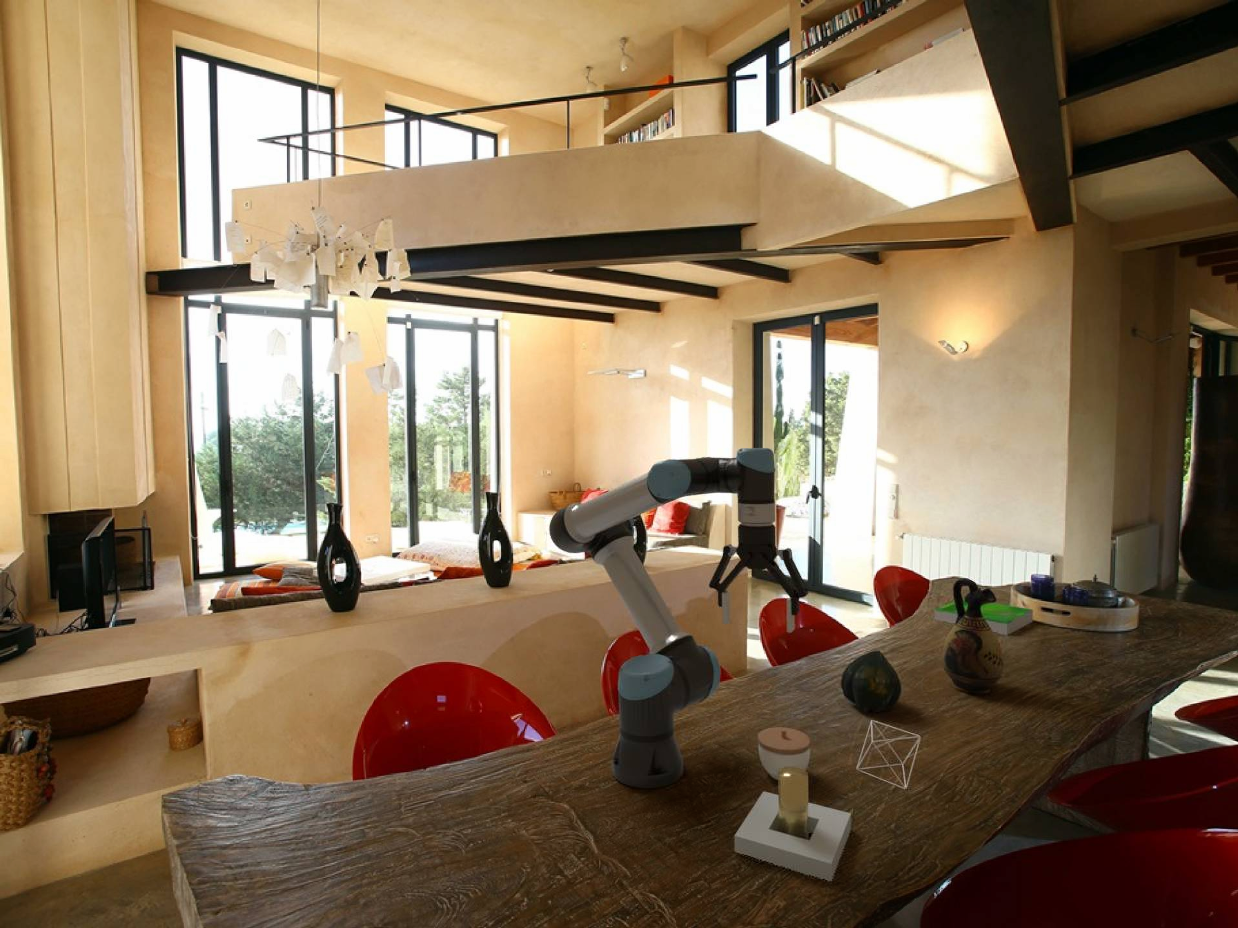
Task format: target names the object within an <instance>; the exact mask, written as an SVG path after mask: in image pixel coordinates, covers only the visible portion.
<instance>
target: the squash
mask: <svg viewBox="0 0 1238 928" xmlns="http://www.w3.org/2000/svg"><path fill="white" fill-rule="evenodd" d="M840 687H841V690H842V695H843V696H844V697H845V698H846V699H847V700H848V701H850V702H851V703H852V704H854V705H856V706H857V708H858V709H859V710H860V711H862V712H865V713H866V712H870V710H872V712H874V713H880V712H882V711H883V710H889V709H891V708H893V707H894V706H895V705H896V704H897V702H898V701H899V700H900V697H901V694H902V684H901V680H900V678H899V675H898V673H897V672H896V670H895V669H894V666H893V665H891V663H890V662H889V661H888V659H887V658H886V657H885V655H884V654H883V653H882V652H881V650H873V651H870V652H867V653H865V654H862V655H860V656H858V657H857V658H855V659H854V660H853V661H851V662H850V663H849V664H848V665H847V666H846V667H845V669H844V670H843V672H842V676H841V680H840Z"/></svg>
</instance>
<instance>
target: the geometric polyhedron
mask: <svg viewBox="0 0 1238 928" xmlns="http://www.w3.org/2000/svg"><path fill="white" fill-rule="evenodd" d="M876 724H880V725H883V726H885V727H889V728H892V729H896V730H899V731H901V732H904V733H908V734H911V735H914V736H907V737H898V738H886V737H885V736H884V734H883V733H882V732H881V730H880V728H879V727H878V726H877V725H876ZM873 725H874V726H875V728H876V729H877V731H878V732H879V733H880V735H881V736H882V738H883V739H880V740H879V739H878V740H874V730H873V729H874V728H873ZM870 729H871V730H870ZM870 731H871V742H870V743H869V746H868V747H867V749H866V751H865V753H864V754H863V752H864V749H865V746H866V742H867V739H868V735H869V732H870ZM907 739H917V740H916V742H915V743H914V744H913V746H912V748H911V749H910V751H909V752H908V754H907V755H906V757H905V759H904V760H903V762H902V760H901V758H900V757H899V756H898V754H897V753H896V751H895V750H894V748H893V747H892V746H891V745H890V743H889V741H897V740H907ZM921 739H922V737H921V736H920V735H919V734H916V733H912V732H910V731H906V730H904V729H901V728H899V727H895V726H891V725H889V724H886V723H883V722H881V721H877V720H873V719H871V720H870V722H869V725H868V729H867V733H866V735H865V739H864V742H863V746H862V749H861V751H860V752H861V753H860V755H859V758H858V761H857V765H856V771H859V772H861V773H864V774H866V775H868V776H870V777H874V778H877V779H878V780H881V781H884V782H886V783H889V784H890V785H894V786H897V787H898V788H901V789H904V790H907V789H908V786H909V782H910V778H911V774H912V773H913V772H912V771H913V768H914V763H915V760H916V757H917V753H918V749H919V746H920V744H921V743H920V742H921ZM877 742H878V743H879V742H886V744H888V747H889V748H890V749H891V750H892V752H893V753H894V754H895V756H896V758H897V759H898V760H899V762H900V763H893V764H889V762H888V760H887V759H886V757H884V755H883V753H882V752H881V750H880V749H879V748H878V746H877V745H876V744H875V743H877ZM872 745H873V746H874V747H875V749H877V751H878V753H879V755H880V756H881V757H882V759H883V760H884V762H886V765H877V766H867V767H861V768H860V766H861V765H862V762H863V761H864V759H865V757H866V756H867V754H868V752H869V750H870V748H871V747H872ZM915 747H916V749H915ZM914 749H915V753H914V757H913V759H912V763H911V767H910V771H909V774H908V778H907V779H906V773H905V765H904V764H905V763H906V761H907V760H908V758H909V756H910V755H911V754H912V752H913V750H914ZM862 755H863V756H862ZM894 766H902V773H903V782H904V783H903V782H902V780H901V779H900V777H899V776H898V775H897V773H896V771H895V770H894V769H893V767H894ZM885 767H889V768H890V770H891V771H892V772H893V774H894V775H895V777H896V778H897V780H898V781H899V783H900V784H901V785H902V786H900V785H898V784H895V783H893V782H891V781H888V780H885V779H883V778H882V777H879V776H875V775H873V774H872V773H868V772H866V771H863V770H866V769H867V770H868V769H874V768H885Z"/></svg>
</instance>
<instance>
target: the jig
mask: <svg viewBox="0 0 1238 928" xmlns="http://www.w3.org/2000/svg"><path fill="white" fill-rule="evenodd" d="M778 828H779V794H775V793H773V792H767V791H763V792H762V793H761V794H760V795H759V798H758V799H757V800H756V801H755V804H754V805H753V807H752V808H751V810H750V811H749V813H748V814H747V816H746V818H745V819H744V820H743V822H742V823H741V825H740V826H739V828H738V829H737V831H736V833H735V834H734V853H735V852H737V853H740V854H744V855H748V856H751V857H754V858H757V859H759V860H758V861H760V859H761V860H762V861H761V862H763V861H767V862H769V863H768V864H770V863H773V864H774V866H776V865H778V866H777V867H780V866H783V867H785V868H784V869H786V868H789V869H791V870H790V871H793V870H794V871H793V872H796V871H797V873H799V872H800V873H799V874H802V873H803V875H806V876H809V875H811V876H810V877H812V876H814V877H813V878H815V877H818V878H817V879H819V878H820V880H822V879H825V880H828V881H827V882H829V881H832V882H833V880H832V879H834V877H835V874H836V871H837V869H836V868H838V866H839V863H840V861H839V859H840V860H841V858H840V857H842V855H843V853H842V852H844V850H843V849H845V847H846V845H845V844H847V842H846V841H848V839H849V836H850V834H851V831H850V830H852V813H850V812H847V811H843V810H840V809H835V808H832V807H828V806H827V807H826V806H823V805H820V804H815V803H811V802H808V832H811V833H813V834H811V836H810V839H808V840H806V839H802V838H799V837H795V836H791V835H788V834H784V833H781V832H779V829H778ZM849 833H850V834H849ZM847 838H848V839H847ZM844 846H845V847H844ZM737 853H736V854H737ZM740 854H739V855H740ZM841 854H842V855H841ZM744 855H743V856H744ZM757 859H756V860H757ZM838 862H839V863H838ZM773 864H772V865H773ZM837 865H838V866H837ZM783 867H782V868H783ZM789 869H788V870H789ZM835 870H836V871H835ZM834 873H835V874H834ZM833 876H834V877H833ZM825 880H824V881H825Z"/></svg>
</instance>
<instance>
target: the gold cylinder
mask: <svg viewBox="0 0 1238 928" xmlns="http://www.w3.org/2000/svg"><path fill="white" fill-rule="evenodd" d="M777 781H778V782H777V783H778V795H779V829H778V832H781V833H784V834H788V835H791V836H795V837H799V838H802V839H806V840H809V833H808V803H809V773H808V771H806V770H803V769H801V768H798V767H793V766H787V767H783V768H781V769H779V771H778V780H777Z"/></svg>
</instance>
